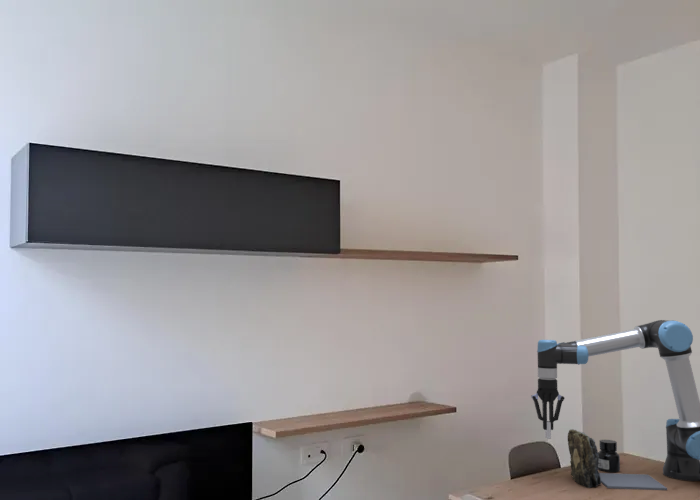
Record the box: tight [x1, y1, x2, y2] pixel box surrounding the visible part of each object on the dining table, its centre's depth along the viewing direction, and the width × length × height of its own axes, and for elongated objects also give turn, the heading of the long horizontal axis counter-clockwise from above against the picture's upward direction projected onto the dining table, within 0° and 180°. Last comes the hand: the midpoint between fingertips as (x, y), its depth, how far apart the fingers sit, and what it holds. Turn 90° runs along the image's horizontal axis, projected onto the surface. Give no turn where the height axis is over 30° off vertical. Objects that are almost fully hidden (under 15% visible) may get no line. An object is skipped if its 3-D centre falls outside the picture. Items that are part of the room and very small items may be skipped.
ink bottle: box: [598, 439, 621, 473], centre depth 270 cm, size 10×9×12 cm
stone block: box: [567, 428, 602, 489], centre depth 253 cm, size 18×9×20 cm, turn 12°
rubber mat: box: [599, 472, 668, 491], centre depth 251 cm, size 22×19×1 cm
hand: (548, 438), depth 254 cm, fingers closed
